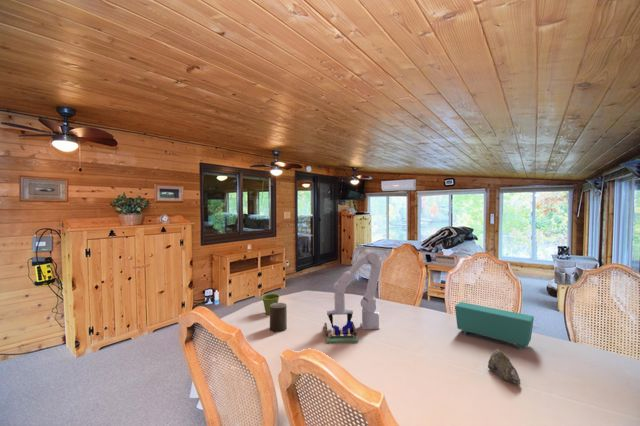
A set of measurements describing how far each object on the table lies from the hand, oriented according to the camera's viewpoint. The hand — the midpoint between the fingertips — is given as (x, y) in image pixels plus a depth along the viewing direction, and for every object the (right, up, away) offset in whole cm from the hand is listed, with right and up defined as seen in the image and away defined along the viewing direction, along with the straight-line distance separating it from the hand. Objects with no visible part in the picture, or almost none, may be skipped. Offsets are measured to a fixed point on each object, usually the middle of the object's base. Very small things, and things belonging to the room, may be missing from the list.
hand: (340, 327), depth 166 cm
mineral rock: (+62, -2, -49) cm, 79 cm away
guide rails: (0, -1, -2) cm, 3 cm away
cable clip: (+1, -2, -6) cm, 7 cm away
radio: (+78, -1, -14) cm, 79 cm away
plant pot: (-44, -2, +27) cm, 52 cm away
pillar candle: (-35, -2, +2) cm, 36 cm away
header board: (0, -2, -14) cm, 14 cm away
